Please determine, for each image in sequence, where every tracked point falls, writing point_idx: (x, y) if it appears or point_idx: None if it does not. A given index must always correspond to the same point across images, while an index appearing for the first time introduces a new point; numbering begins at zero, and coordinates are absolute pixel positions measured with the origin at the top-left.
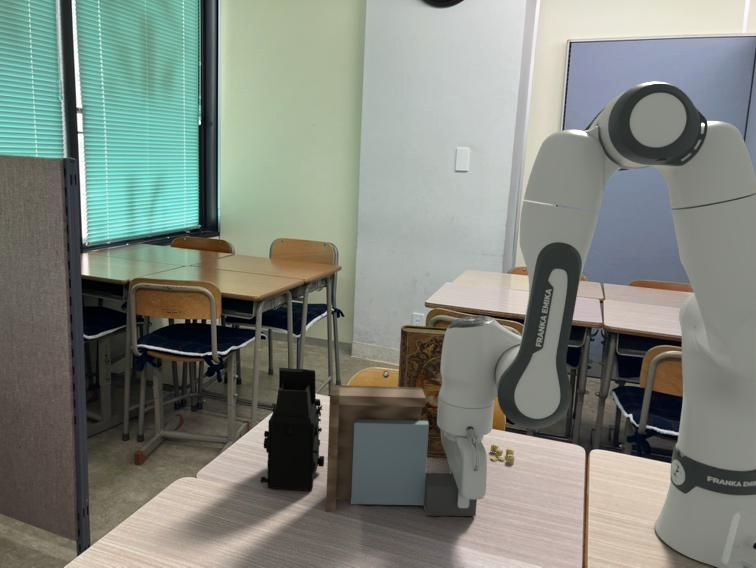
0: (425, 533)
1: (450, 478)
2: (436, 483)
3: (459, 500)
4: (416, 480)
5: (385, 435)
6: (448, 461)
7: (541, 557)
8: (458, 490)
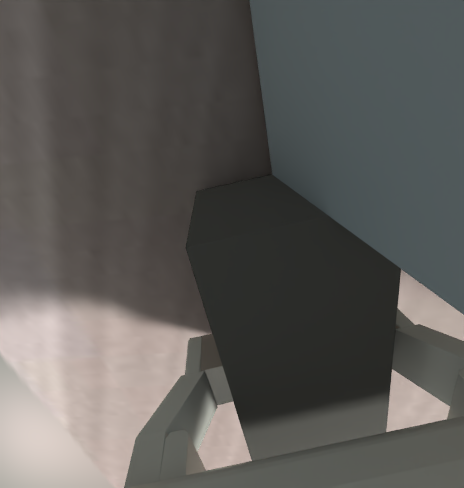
0: (76, 198)
1: (326, 360)
2: (243, 298)
3: (186, 366)
4: (312, 136)
5: None
6: (455, 438)
7: (105, 457)
8: (171, 416)
